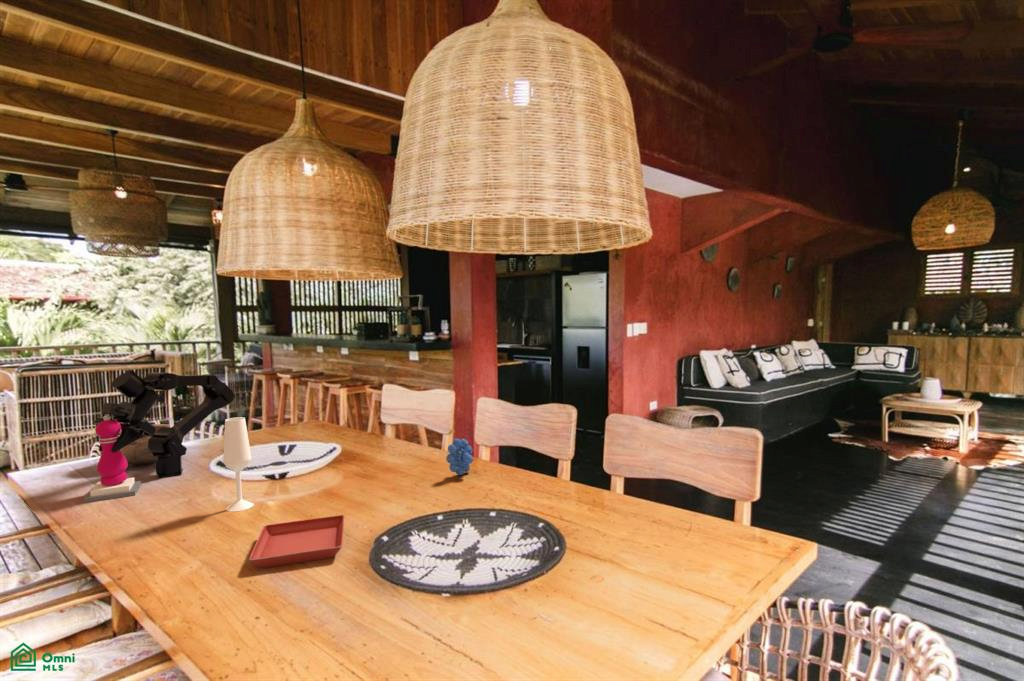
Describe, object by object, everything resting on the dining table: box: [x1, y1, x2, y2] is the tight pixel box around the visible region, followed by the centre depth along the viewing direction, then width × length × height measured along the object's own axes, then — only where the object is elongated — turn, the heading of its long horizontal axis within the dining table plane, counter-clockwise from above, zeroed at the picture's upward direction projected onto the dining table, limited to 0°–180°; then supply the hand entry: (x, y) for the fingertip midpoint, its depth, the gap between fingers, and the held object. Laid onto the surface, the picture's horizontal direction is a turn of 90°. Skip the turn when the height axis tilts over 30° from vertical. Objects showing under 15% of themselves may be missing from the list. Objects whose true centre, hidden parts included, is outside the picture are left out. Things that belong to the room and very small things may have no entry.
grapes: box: [445, 437, 474, 476], centre depth 164 cm, size 12×7×12 cm, turn 145°
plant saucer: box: [248, 514, 346, 568], centre depth 117 cm, size 18×18×3 cm
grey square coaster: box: [82, 477, 142, 504], centre depth 155 cm, size 12×11×3 cm
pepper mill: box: [94, 414, 129, 485], centre depth 155 cm, size 7×7×20 cm
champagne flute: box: [222, 416, 254, 513], centre depth 142 cm, size 7×7×24 cm
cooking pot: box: [119, 423, 172, 467], centre depth 186 cm, size 25×19×12 cm
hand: (106, 451), depth 154 cm, fingers closed on pepper mill, 5 cm apart
